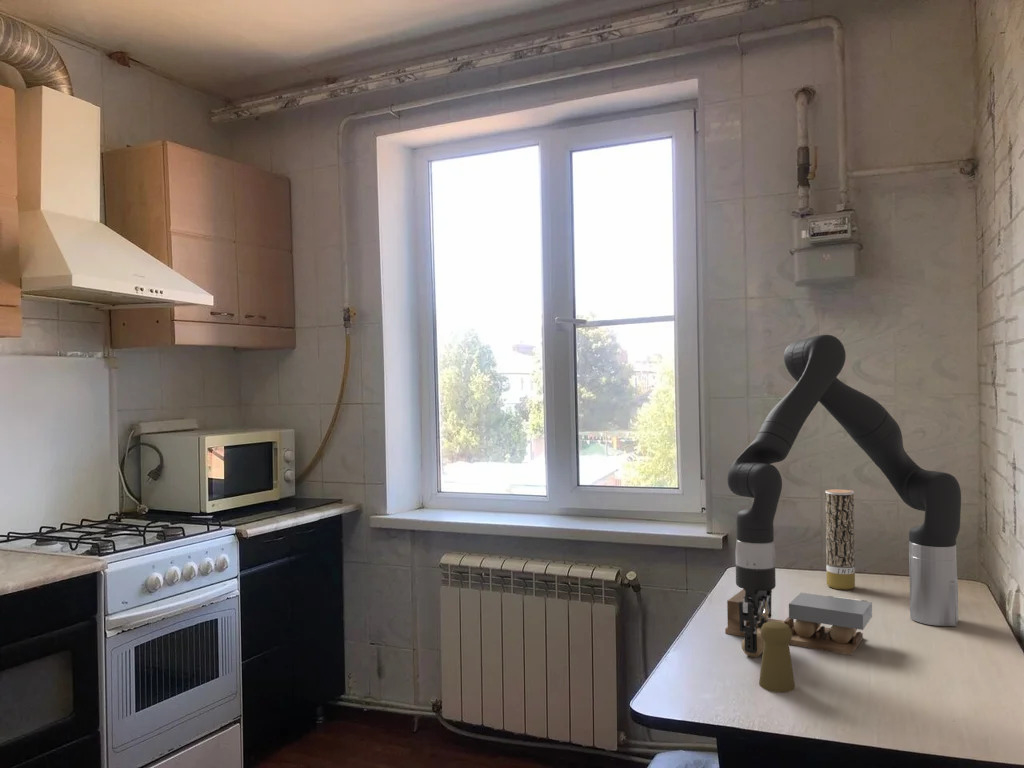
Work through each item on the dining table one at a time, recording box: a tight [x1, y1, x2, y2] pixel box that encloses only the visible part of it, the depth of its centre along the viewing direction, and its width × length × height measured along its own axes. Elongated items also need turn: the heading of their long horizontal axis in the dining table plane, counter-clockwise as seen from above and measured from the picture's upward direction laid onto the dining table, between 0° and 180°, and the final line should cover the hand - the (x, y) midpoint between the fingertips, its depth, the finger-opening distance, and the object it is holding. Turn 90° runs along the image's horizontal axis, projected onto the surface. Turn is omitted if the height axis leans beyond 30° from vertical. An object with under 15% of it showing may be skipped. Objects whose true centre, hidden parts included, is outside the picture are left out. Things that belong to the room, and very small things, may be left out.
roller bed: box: [724, 588, 864, 656], centre depth 161 cm, size 25×12×7 cm, turn 56°
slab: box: [788, 592, 873, 631], centre depth 156 cm, size 14×10×3 cm
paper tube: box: [824, 488, 856, 591], centre depth 198 cm, size 7×7×25 cm
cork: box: [758, 621, 796, 693], centre depth 134 cm, size 6×6×11 cm
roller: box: [741, 628, 764, 658], centre depth 151 cm, size 4×6×4 cm, turn 146°
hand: (756, 646), depth 151 cm, fingers closed on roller, 6 cm apart
